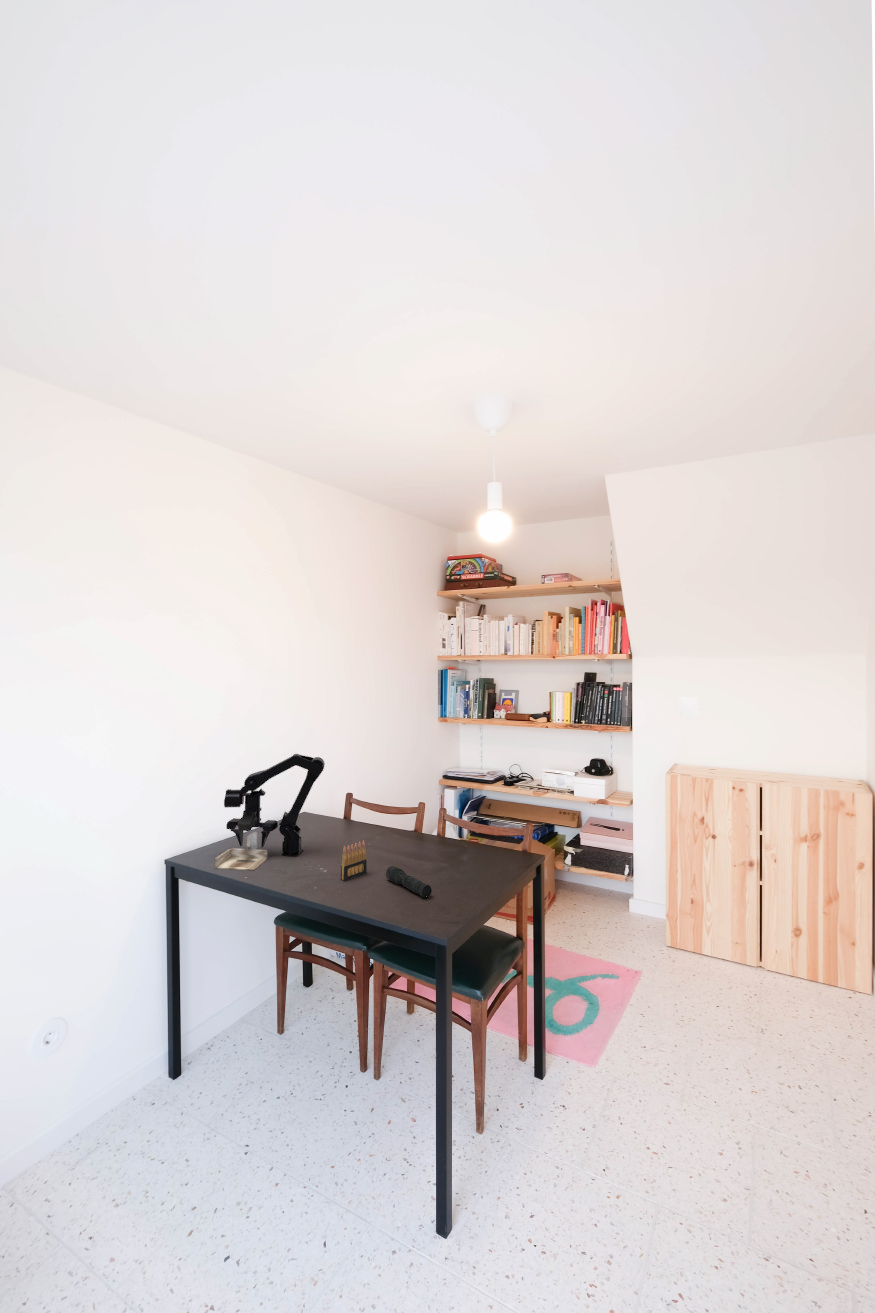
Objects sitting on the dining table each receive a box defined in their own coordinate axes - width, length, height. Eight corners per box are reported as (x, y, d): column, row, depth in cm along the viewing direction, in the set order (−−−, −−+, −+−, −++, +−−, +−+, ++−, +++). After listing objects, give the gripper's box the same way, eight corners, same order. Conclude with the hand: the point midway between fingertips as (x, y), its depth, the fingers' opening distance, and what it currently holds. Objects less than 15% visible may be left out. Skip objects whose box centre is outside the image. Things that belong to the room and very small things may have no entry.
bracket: (256, 852, 232) (257, 832, 232) (250, 857, 226) (250, 836, 226) (241, 851, 232) (241, 831, 232) (234, 856, 226) (234, 836, 226)
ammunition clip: (343, 881, 203) (344, 847, 203) (340, 880, 204) (340, 845, 204) (366, 873, 211) (367, 840, 211) (363, 872, 212) (363, 839, 212)
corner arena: (267, 859, 224) (267, 850, 224) (254, 870, 212) (254, 861, 212) (229, 857, 225) (230, 848, 225) (214, 868, 214) (214, 858, 214)
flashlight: (396, 878, 208) (397, 864, 208) (432, 897, 192) (433, 882, 192) (385, 881, 205) (385, 867, 205) (420, 901, 188) (420, 885, 188)
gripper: (219, 811, 222) (219, 852, 222) (267, 813, 220) (266, 855, 220) (233, 803, 233) (232, 843, 233) (278, 805, 231) (277, 845, 231)
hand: (251, 846), depth 229 cm, fingers open, 8 cm apart
